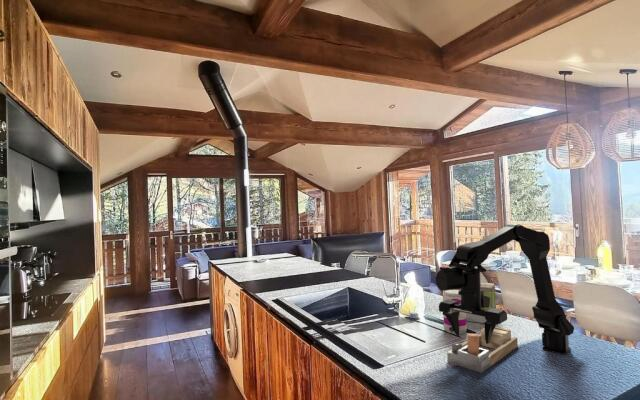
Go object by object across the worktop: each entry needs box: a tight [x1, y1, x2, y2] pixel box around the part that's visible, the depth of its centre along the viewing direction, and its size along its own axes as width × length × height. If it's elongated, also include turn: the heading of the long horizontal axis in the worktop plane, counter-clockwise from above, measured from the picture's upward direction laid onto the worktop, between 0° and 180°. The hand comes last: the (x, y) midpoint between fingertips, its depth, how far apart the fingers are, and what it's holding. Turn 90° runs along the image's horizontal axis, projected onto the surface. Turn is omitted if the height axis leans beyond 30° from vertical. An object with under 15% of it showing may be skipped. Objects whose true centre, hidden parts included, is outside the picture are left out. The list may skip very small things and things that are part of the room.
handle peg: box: [466, 333, 480, 355], centre depth 109 cm, size 3×3×6 cm
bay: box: [461, 332, 519, 367], centre depth 119 cm, size 11×21×3 cm, turn 132°
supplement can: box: [442, 290, 468, 335], centre depth 139 cm, size 8×8×15 cm
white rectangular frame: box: [446, 342, 492, 374], centre depth 111 cm, size 11×7×5 cm, turn 42°
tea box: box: [454, 282, 497, 324], centre depth 152 cm, size 15×10×15 cm, turn 58°
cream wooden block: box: [480, 326, 512, 350], centre depth 124 cm, size 7×7×5 cm
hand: (472, 339), depth 109 cm, fingers open, 9 cm apart
